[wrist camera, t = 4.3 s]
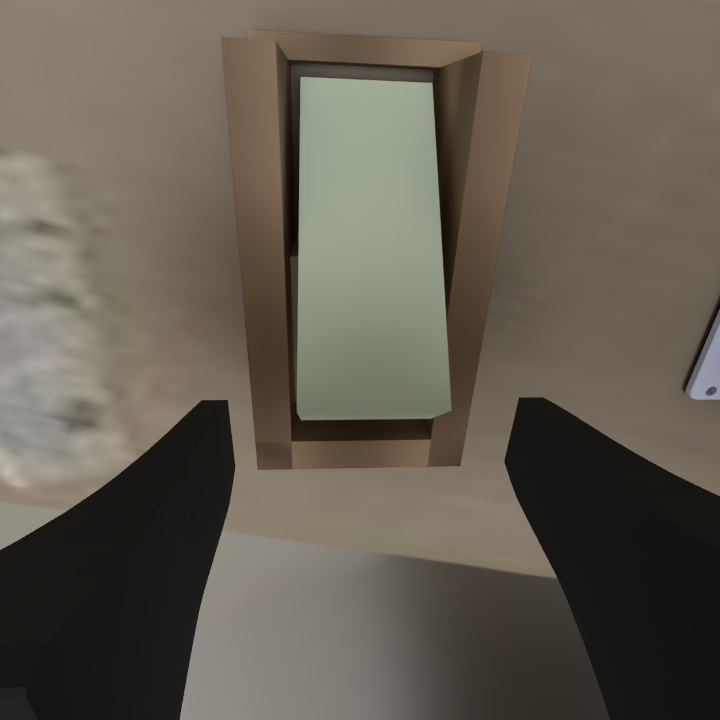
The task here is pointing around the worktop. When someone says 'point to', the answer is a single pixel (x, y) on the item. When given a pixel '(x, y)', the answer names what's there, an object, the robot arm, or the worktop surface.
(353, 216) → the sage bar
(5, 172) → the worktop surface
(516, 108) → the pocket block
